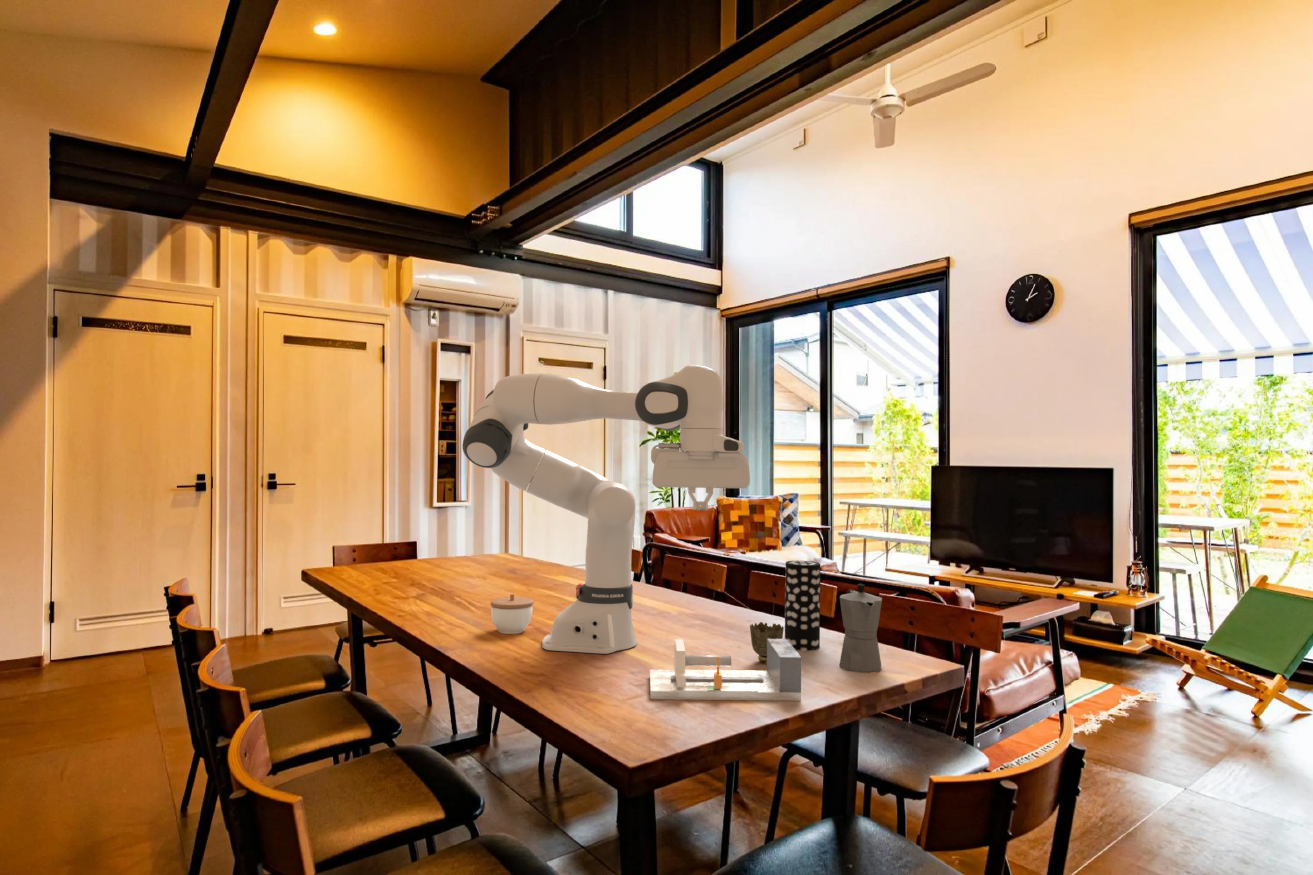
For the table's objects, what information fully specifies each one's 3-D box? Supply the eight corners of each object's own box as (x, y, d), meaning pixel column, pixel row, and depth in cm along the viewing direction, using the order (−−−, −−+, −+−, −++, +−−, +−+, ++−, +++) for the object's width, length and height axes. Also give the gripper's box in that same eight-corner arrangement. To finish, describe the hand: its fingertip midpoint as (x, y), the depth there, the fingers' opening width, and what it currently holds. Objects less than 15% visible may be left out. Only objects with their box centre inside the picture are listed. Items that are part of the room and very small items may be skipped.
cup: (787, 660, 163) (787, 624, 164) (778, 668, 157) (778, 630, 157) (755, 655, 166) (755, 620, 167) (745, 663, 160) (745, 627, 160)
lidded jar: (512, 638, 179) (513, 599, 179) (480, 632, 185) (481, 595, 185) (541, 630, 188) (542, 593, 188) (510, 624, 194) (511, 589, 194)
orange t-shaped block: (715, 688, 135) (715, 658, 136) (713, 684, 138) (714, 654, 138) (721, 688, 135) (722, 658, 136) (720, 684, 138) (720, 654, 138)
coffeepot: (892, 675, 152) (893, 589, 153) (848, 675, 152) (849, 588, 153) (868, 656, 168) (868, 577, 168) (827, 655, 167) (828, 577, 168)
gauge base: (650, 699, 135) (651, 655, 135) (649, 676, 149) (650, 637, 149) (800, 700, 136) (801, 657, 136) (786, 678, 150) (786, 638, 150)
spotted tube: (817, 642, 179) (818, 561, 180) (821, 651, 171) (822, 565, 172) (783, 641, 180) (784, 560, 181) (785, 649, 172) (786, 564, 173)
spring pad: (677, 686, 135) (677, 654, 135) (674, 669, 147) (674, 639, 147) (735, 687, 135) (735, 655, 136) (727, 669, 147) (728, 639, 147)
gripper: (651, 442, 148) (650, 510, 148) (751, 443, 149) (750, 511, 148) (651, 443, 155) (650, 508, 154) (747, 444, 155) (746, 509, 155)
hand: (700, 510), depth 151 cm, fingers closed
